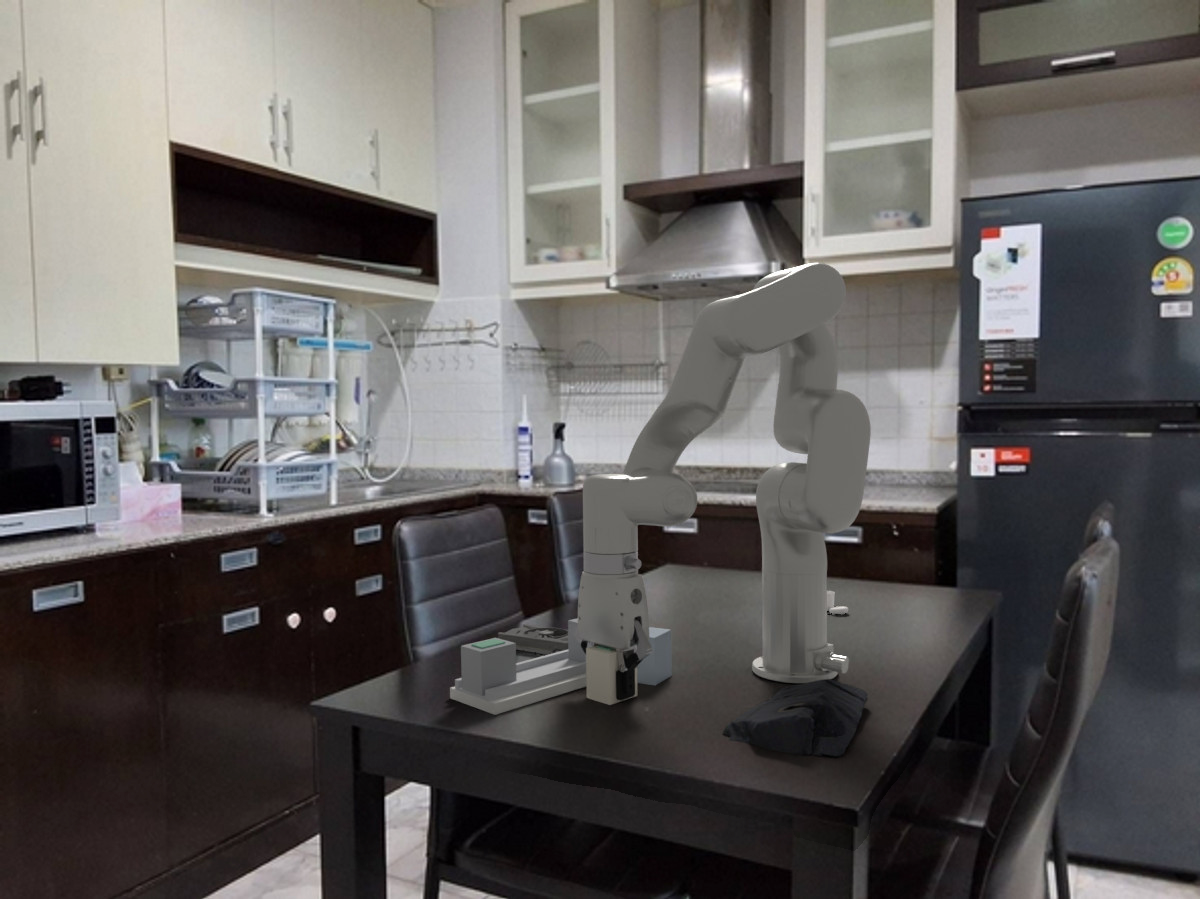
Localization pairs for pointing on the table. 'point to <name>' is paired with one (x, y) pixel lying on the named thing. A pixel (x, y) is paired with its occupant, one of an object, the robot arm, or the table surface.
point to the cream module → (603, 674)
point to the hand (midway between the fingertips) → (612, 692)
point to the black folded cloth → (803, 719)
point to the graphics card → (537, 639)
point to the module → (656, 658)
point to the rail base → (528, 684)
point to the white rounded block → (831, 604)
